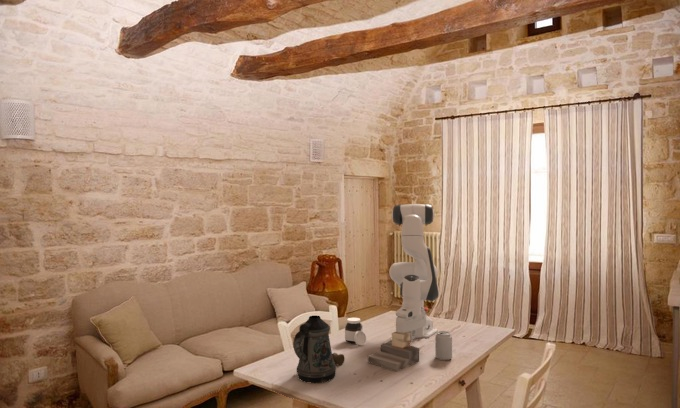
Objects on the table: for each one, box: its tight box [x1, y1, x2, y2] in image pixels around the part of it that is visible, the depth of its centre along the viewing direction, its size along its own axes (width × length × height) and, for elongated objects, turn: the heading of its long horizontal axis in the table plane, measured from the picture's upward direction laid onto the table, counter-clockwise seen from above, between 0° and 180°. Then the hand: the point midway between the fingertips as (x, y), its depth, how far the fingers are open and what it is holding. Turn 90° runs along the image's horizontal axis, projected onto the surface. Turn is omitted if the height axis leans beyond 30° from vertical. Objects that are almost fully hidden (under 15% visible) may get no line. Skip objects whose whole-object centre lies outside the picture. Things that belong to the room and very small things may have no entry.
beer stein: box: [292, 315, 337, 384], centre depth 198 cm, size 16×19×25 cm
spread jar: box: [344, 317, 367, 346], centre depth 244 cm, size 12×11×12 cm
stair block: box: [367, 340, 420, 372], centre depth 215 cm, size 17×16×6 cm
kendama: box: [332, 352, 346, 366], centre depth 219 cm, size 6×10×20 cm
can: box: [434, 330, 453, 361], centre depth 220 cm, size 8×8×12 cm
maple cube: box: [391, 330, 411, 349], centre depth 219 cm, size 6×6×6 cm
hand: (411, 339), depth 225 cm, fingers closed
